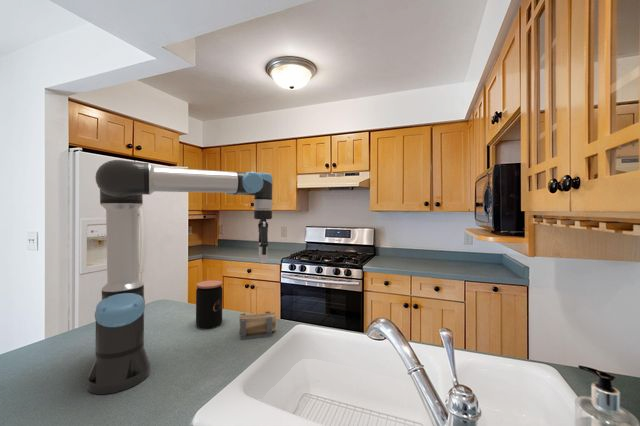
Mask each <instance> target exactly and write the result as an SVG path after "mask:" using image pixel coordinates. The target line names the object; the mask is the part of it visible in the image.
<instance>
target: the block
mask: <svg viewBox="0 0 640 426" xmlns="http://www.w3.org/2000/svg"><path fill="white" fill-rule="evenodd" d="M267 317H272V332H276V328H277V327H276V318H277V317H276V313H275V312H270V313H265V312H264V313H255V314H246V315H241V314H240V315H239V334H240V333H241V320H246V334H249V333H259V332H267Z"/></svg>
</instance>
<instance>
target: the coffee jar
mask: <svg viewBox="0 0 640 426" xmlns="http://www.w3.org/2000/svg"><path fill="white" fill-rule="evenodd" d="M195 285H196V290H195V325H196V327H197V328H198V329H200V330H210V329H214V328H217V327H219V326H220V325H221V324H222V322H223V287H222V285H223V281H222V280H213V279H212V280H210V279H209V280H204V281H199V282H197V283H196V284H195Z"/></svg>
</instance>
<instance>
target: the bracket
mask: <svg viewBox="0 0 640 426" xmlns="http://www.w3.org/2000/svg"><path fill="white" fill-rule="evenodd" d="M264 313H271V311H269V310H268V311H265V312H264ZM241 315H247V314H246V313H240V316H241ZM239 335H240V337H239V338H240V341H242V340H251V339H260V338H270V337H273V331H272V317H267V332H259V333H249V334H246V320H241V333H240V332H239Z"/></svg>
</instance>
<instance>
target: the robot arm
mask: <svg viewBox="0 0 640 426" xmlns="http://www.w3.org/2000/svg"><path fill="white" fill-rule="evenodd" d="M94 177H95V183H96V186H97V187H98V188H99V205H100V206H101V207H103V208H104V209H105V213H106V214H105V217H106V218H105V219H106V222H105V223H106V224H105V226H106V227H105V228H106V269H107V270H106V273H107V274H106V278H107V281H106V282H107V283H106V284H105V285H104V286H102V287H101V300H100V301H99V302H98V303H97V304H96V307H95V311H94V320H95V337H94V338H95V340H94V341H95V347H94V348H95V349H94V351H95V352H94V353H95V356H94V361H93V363H92V366H91V368H90V371H89V374H88V377H87V379H86V382H87V383H86V384H87V385H86V387H87V391H88V392H89V393H92V394H94V395H107V394H113V393H118V392H122V391H125V390H127V389H128V390H129V389H130V388H133V387H135V386H136V385H139V384H140V383H141V382H143V381H144V380H146V379H147V378H148V377H149V375H150V373H151V360H150V358H149V355H148V353H147V351H146V349H145V309H146V308H145V307H146V299H145V283H144V281H142V280H141V279H140V278H139V228H138V227H139V223H138V222H139V221H138V220H139V219H138V214H139V213H138V210H139V208H141V207H142V206H143V199H144V198H143V195H152V194H153V193H154V192H155V193H156V192H161V193H163V192H166V193H169V192H170V193H172V192H173V193H211V194H212V193H214V194H215V193H219V194H221V193H222V194H226V195H231V196H253V197H254V198H253V209H254V211H253V219H255V220H259V221H258V224H257V229H258V258H260V264H268V249H269V248H268V246H269V243H268V242H269V239H268V233H269V232H268V231H269V222H268V221H267V220H272V219H273V211H272V209H273V205H274V202H273V176H272V174H271V173H270V172H269V173H268V172H256V171H247V172H243V171H242V172H241V171H237V172H236V171H227V170H226V171H225V170H210V169H209V170H207V169H194V168H193V169H192V168H190V169H189V168H178V167H159V166H153V165H152V164H151V162H139V161H129V160H125V159H113V160H108V161H106V162H104V163H102V164H101V165H99V167H98V169H97V170H96V173H95V176H94Z"/></svg>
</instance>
